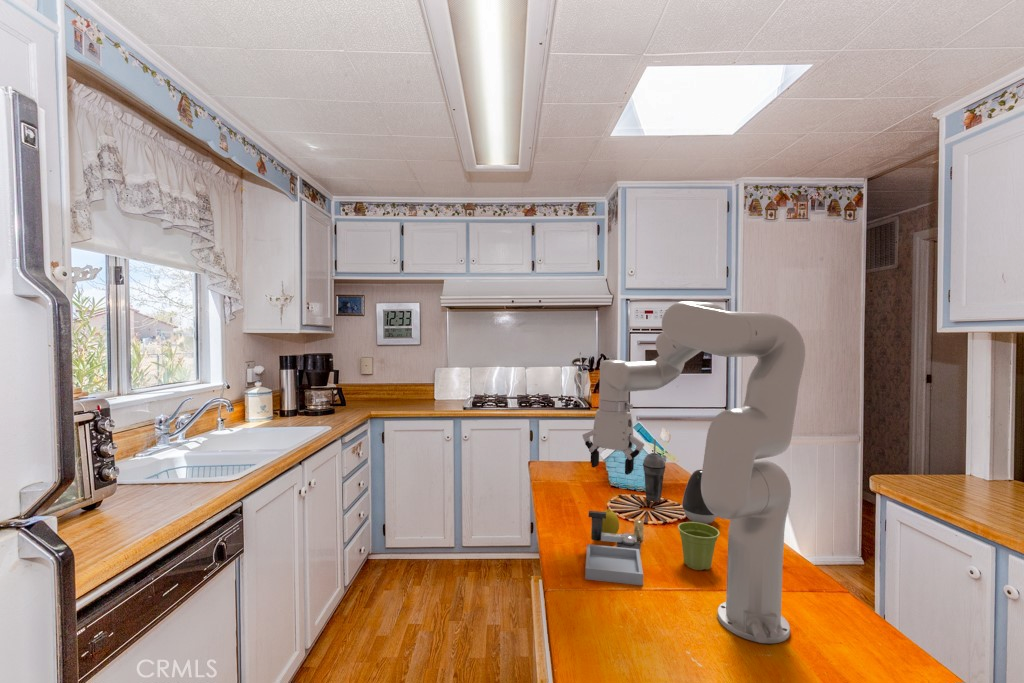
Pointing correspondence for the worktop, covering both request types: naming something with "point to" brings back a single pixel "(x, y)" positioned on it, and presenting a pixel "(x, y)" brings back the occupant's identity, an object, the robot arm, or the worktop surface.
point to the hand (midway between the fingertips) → (611, 469)
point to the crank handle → (599, 536)
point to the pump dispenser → (696, 501)
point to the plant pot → (698, 544)
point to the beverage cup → (653, 475)
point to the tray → (613, 564)
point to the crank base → (638, 532)
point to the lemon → (610, 522)
